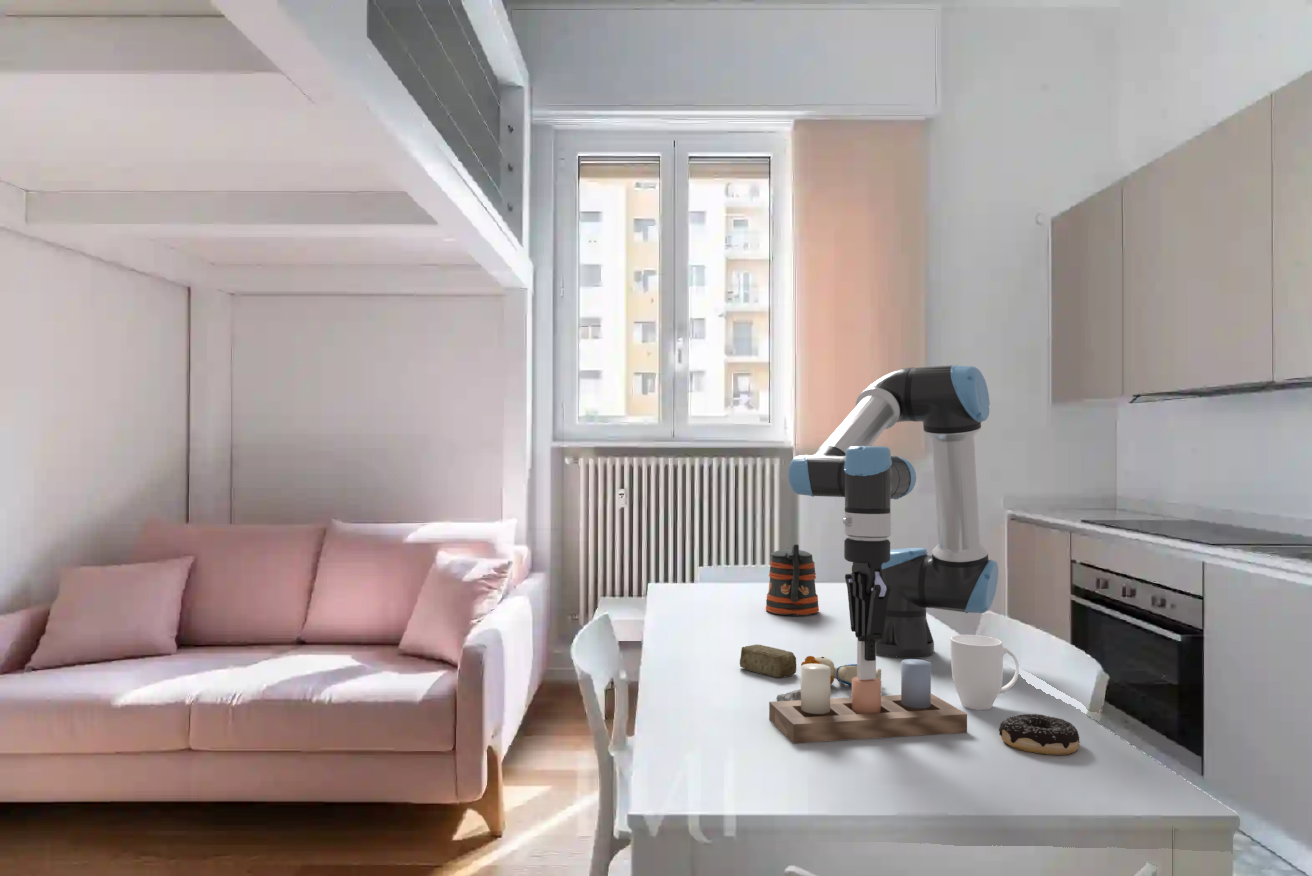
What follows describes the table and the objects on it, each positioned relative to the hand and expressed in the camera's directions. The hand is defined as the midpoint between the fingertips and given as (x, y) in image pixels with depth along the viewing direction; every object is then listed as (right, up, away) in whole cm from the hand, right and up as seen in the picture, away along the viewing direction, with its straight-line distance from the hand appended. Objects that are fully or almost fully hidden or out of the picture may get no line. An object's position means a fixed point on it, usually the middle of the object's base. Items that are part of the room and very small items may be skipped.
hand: (866, 678), depth 147 cm
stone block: (-12, -8, +34) cm, 37 cm away
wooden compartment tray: (0, -8, 0) cm, 8 cm away
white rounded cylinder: (-9, -5, -2) cm, 10 cm away
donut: (+25, -9, -8) cm, 28 cm away
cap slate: (+9, -5, +2) cm, 10 cm away
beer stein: (+3, -8, +95) cm, 96 cm away
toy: (+1, -8, +24) cm, 25 cm away
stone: (-10, -9, +10) cm, 17 cm away
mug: (+24, -8, +12) cm, 28 cm away
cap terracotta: (0, -7, 0) cm, 7 cm away
